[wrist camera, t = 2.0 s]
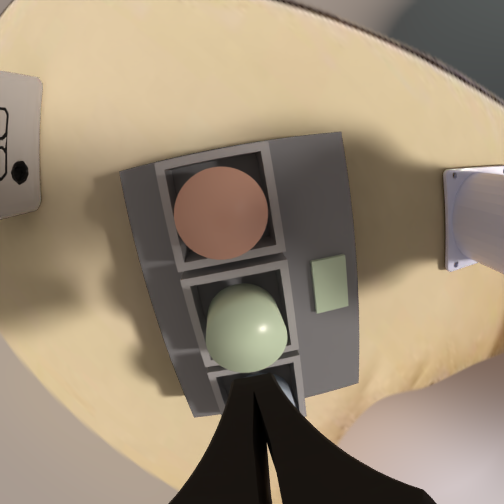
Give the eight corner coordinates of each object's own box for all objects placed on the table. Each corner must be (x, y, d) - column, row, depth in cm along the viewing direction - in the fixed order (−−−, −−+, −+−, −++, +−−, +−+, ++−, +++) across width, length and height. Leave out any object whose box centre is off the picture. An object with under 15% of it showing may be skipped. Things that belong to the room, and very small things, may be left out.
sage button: (272, 277, 15) (281, 296, 13) (282, 338, 16) (291, 364, 14) (200, 290, 15) (196, 312, 12) (216, 351, 16) (215, 378, 13)
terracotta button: (253, 161, 13) (259, 158, 11) (266, 237, 14) (274, 250, 12) (174, 176, 13) (165, 177, 11) (190, 252, 14) (185, 267, 12)
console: (326, 136, 18) (356, 127, 13) (346, 364, 22) (368, 399, 18) (132, 171, 17) (105, 172, 13) (195, 395, 22) (192, 437, 17)
